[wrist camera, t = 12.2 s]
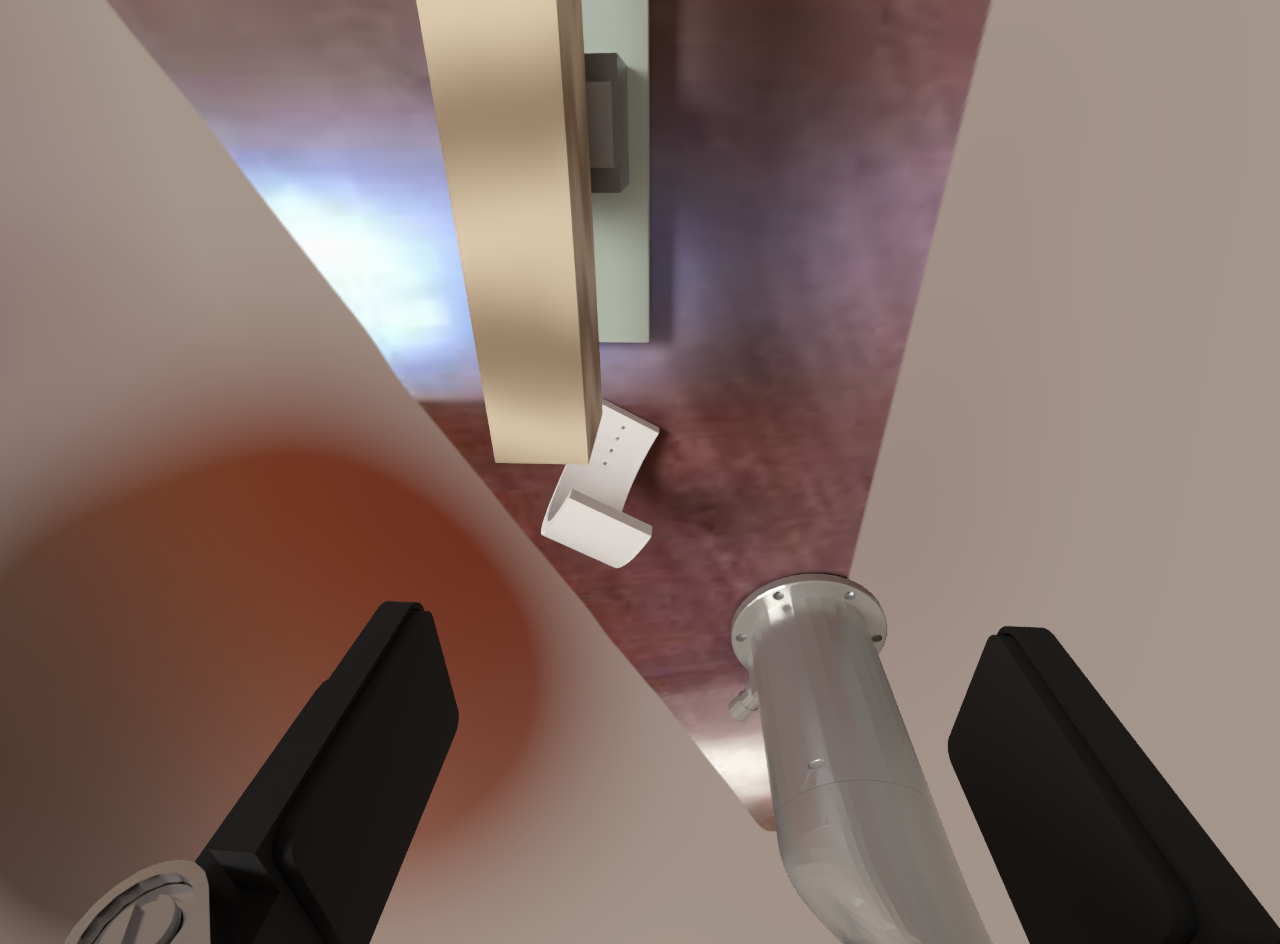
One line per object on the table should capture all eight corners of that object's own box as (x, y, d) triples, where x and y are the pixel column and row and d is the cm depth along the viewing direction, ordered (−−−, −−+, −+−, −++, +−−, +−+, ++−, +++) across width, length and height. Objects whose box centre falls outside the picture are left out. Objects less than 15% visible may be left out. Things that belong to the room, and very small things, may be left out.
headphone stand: (659, 427, 38) (652, 536, 28) (619, 490, 41) (599, 610, 31) (599, 396, 37) (569, 497, 27) (562, 463, 40) (522, 577, 30)
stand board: (649, 334, 35) (648, 342, 33) (523, 333, 35) (517, 341, 34) (649, -184, 23) (647, -202, 22) (461, -175, 24) (448, -193, 22)
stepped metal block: (629, 183, 29) (614, 198, 23) (516, 184, 29) (470, 199, 23) (626, 65, 26) (609, 44, 20) (502, 68, 27) (447, 48, 20)
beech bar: (602, 413, 28) (588, 464, 23) (523, 412, 28) (495, 462, 24) (561, -386, 15) (515, -588, 11) (418, -375, 15) (318, -570, 11)
